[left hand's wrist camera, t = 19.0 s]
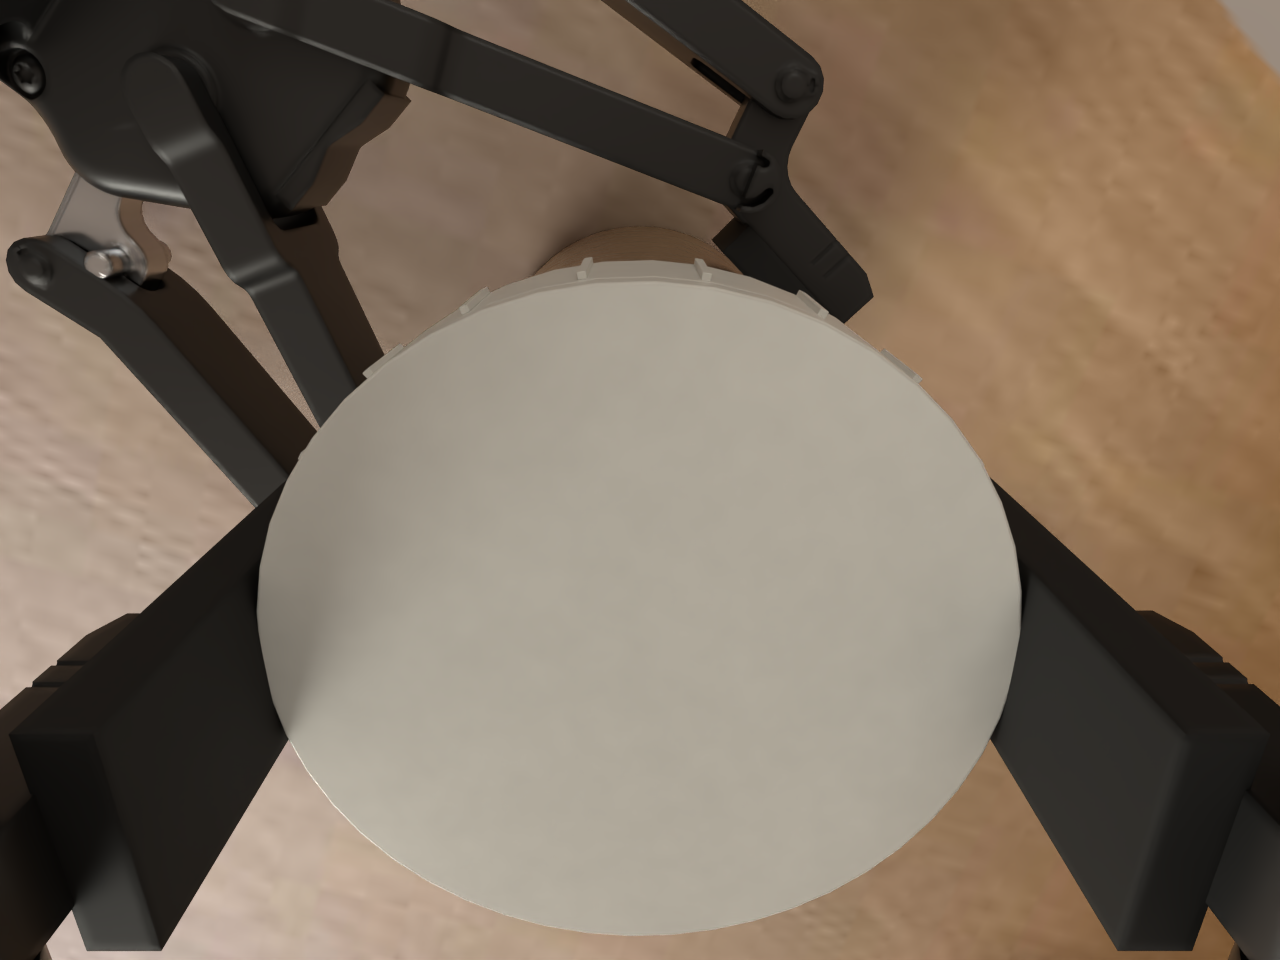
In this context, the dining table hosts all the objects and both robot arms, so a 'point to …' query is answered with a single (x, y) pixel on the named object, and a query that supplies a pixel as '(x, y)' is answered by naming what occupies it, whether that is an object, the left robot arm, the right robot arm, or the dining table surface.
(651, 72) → the dining table surface
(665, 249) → the jar
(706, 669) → the lid
